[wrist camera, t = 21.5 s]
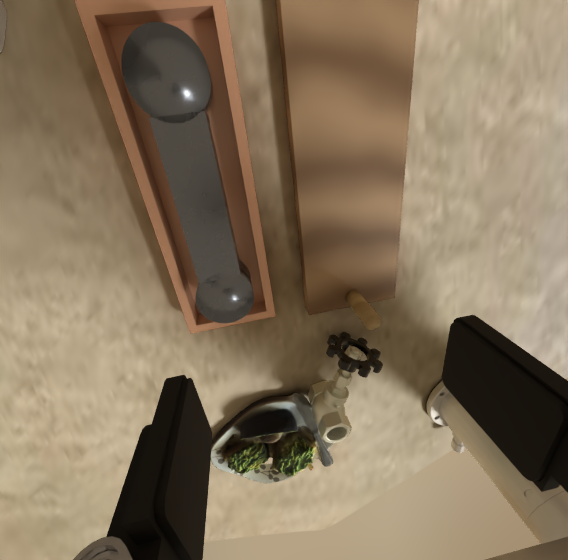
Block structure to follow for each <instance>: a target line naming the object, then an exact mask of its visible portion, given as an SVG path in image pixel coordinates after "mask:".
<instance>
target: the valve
mask: <svg viewBox="0 0 568 560" xmlns="http://www.w3.org/2000/svg"><path fill="white" fill-rule="evenodd" d="M350 337H351V336H350V334H348V333H346V332H343V333H342V334H341V337H340V339H339V338H338V337H337V336H336V335H330V336H329V339H328V341H327V343H328V345H329V346H328V349H327V351H326V354H327V355H328V356H329V357H332V358H333V356H334V354H337V356H338V357H339V358H340V360H339V362H338V366H339V368H340V369H338V370H337V371H336V373H335V376H334V380H335V381H334V380H331V381H328V382H327V381H326V380H324V381H321V382H318V383H315V384H312V385H311V388H310V390H309V393H308V397H309V400H310V404H311V405H312V415H313V418H314V420H315V421H316V423H317V424H318V429H319V432H320V435H321V438H322V439H323V440H325V441H326V442H328V443H337V442H340V441H342V440H344V439H346V438H347V437H348V435H349V434H350V431H351V428H352V427H351V425H350V422H349V420H348V418H347V416H346V415H345V408H344V403H345V402H346V400H347V398H348V396H349V391H348V389H347V388H346V386H347V385H349V383H350V381H351V378H352V375H351V373H350V372H355V371H356V369H359V372H358V374H359V375H360V376H362V377H367V376H368V374H369V372H370V370H371V368H370V366H372V367H373V368H374V370H373V372H375V373H379V372H380V370H381V368H382V366H383V364H382V362H380V361H379V360H378V358H379V356H380V354H381V353H380V351H378V350H377V349H369V348H368V347H367V346H366V344H367V341H366V340H365V339H364V338H359V339H358V341H357V340H353V339H351V338H350ZM332 343H333V344H335V345H331V344H332ZM342 345H343V347H342V349H341V346H342ZM349 345H351V347H349ZM352 346H354V347H352ZM357 348H358V349H357ZM359 349H360V350H361V351H362V352H363V353H364V354H365V355H366V357H367V360H365V361H360V358H361V356H362V353H361V352H360V350H359Z"/></svg>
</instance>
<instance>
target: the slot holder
mask: <svg viewBox="0 0 568 560" xmlns="http://www.w3.org/2000/svg"><path fill="white" fill-rule="evenodd" d="M74 1H75V4H76V7H77V10H78V13H79V16H80V18H81V21H82V24H83V27H84V30H85V33H86V36H87V39H88V41H89V44H90V47H91V50H92V53H93V56H94V59H95V62H96V64H97V67H98V70H99V73H100V76H101V79H102V82H103V84H104V87H105V90H106V93H107V96H108V99H109V102H110V105H111V107H112V110H113V113H114V116H115V119H116V122H117V125H118V128H119V130H120V133H121V136H122V139H123V142H124V145H125V148H126V151H127V153H128V156H129V159H130V162H131V165H132V168H133V171H134V173H135V176H136V179H137V182H138V185H139V188H140V191H141V194H142V196H143V199H144V202H145V205H146V208H147V211H148V214H149V217H150V219H151V222H152V225H153V228H154V231H155V234H156V237H157V240H158V242H159V245H160V248H161V251H162V254H163V257H164V260H165V262H166V265H167V268H168V271H169V274H170V277H171V280H172V283H173V285H174V288H175V291H176V294H177V297H178V300H179V303H180V306H181V308H182V311H183V314H184V317H185V320H186V323H187V326H188V329H189V331H190V334H191V333H196V332H201V331H206V330H211V329H216V328H221V327H226V326H231V325H236V324H241V323H245V322H250V321H255V320H260V319H265V318H270V317H275V309H274V303H273V297H272V291H271V284H270V278H269V272H268V266H267V260H266V253H265V247H264V241H263V235H262V228H261V222H260V216H259V210H258V203H257V197H256V191H255V185H254V178H253V172H252V166H251V160H250V153H249V147H248V141H247V135H246V128H245V122H244V116H243V110H242V103H241V97H240V91H239V85H238V79H237V72H236V66H235V60H234V54H233V47H232V41H231V35H230V29H229V22H228V16H227V10H226V4H225V0H74ZM150 22H164V23H168V24H171V25H173V26H176V27H178V28H179V29H181V30H182V31H184V32H185V33H186V34H187V35H189V36H190V37H191V38H192V39H193V40H194V42H195V43H196V44H197V46H198V47H199V49H200V50H201V52H202V54H203V56H204V58H205V60H206V63H207V66H208V70H209V73H210V77H211V81H212V86H213V98H212V103H211V106H210V109H209V111H208V112H207V114H208V115H209V120H210V125H211V129H212V134H213V139H214V143H215V148H216V153H217V157H218V162H219V167H220V171H221V176H222V181H223V185H224V190H225V195H226V199H227V204H228V209H229V213H230V218H231V223H232V227H233V232H234V237H235V241H236V246H237V251H238V255H239V260H241V261H242V262H243V263H244V264H245V265H246V266H247V268H248V269H249V272H250V276H251V282H252V287H253V293H254V303H253V306H252V308H251V310H250V311H249V313H248V314H247V315H246V316H245V317H243V318H242V319H240V320H238V321H235V322H232V323H217V322H213V321H211V320H209V319H207V318H206V317H204V316H203V315H202V314H201V313H200V311H199V310H198V308H197V306H196V301H195V297H196V291H197V286H198V278H197V275H196V272H195V268H194V265H193V262H192V259H191V255H190V252H189V249H188V245H187V242H186V239H185V235H184V232H183V229H182V225H181V222H180V219H179V216H178V212H177V209H176V206H175V202H174V199H173V196H172V192H171V189H170V186H169V183H168V179H167V176H166V173H165V169H164V166H163V163H162V159H161V156H160V153H159V149H158V146H157V143H156V140H155V136H154V133H153V130H152V126H151V123H150V120H149V118H152V116H150V115H149V114H147V113H146V112H145V111H144V110H142V109H141V108H140V107H139V106H138V104H137V103H136V102H135V101H134V99H133V98H132V96H131V95H130V93H129V91H128V89H127V87H126V84H125V81H124V78H123V74H122V66H121V58H122V51H123V47H124V45H125V42H126V40H127V38H128V37H129V35H130V34H131V33H132V32H133V31H134V30H135V29H136V28H138V27H139V26H141V25H143V24H146V23H150Z"/></svg>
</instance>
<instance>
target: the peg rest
mask: <svg viewBox="0 0 568 560" xmlns="http://www.w3.org/2000/svg"><path fill="white" fill-rule="evenodd" d="M418 4H419V0H276V7H277V17H278V27H279V38H280V48H281V58H282V69H283V79H284V89H285V100H286V110H287V120H288V131H289V141H290V151H291V162H292V172H293V182H294V193H295V203H296V213H297V224H298V234H299V244H300V255H301V265H302V275H303V286H304V296H305V306H306V310H307V312H308V314H309V315H312V314H317V313H322V312H327V311H332V310H336V309H341V308H346V307H352V309H353V310H354V312H355V313H356V314H357V316H358V317H359V318H360V320H361V321H362V322H363V324H364V325H365V327H366V328H367V329H369V330H374V329H376V328H378V327H379V326H380V325H381V322H382V320H381V318H380V316H379V315H378V314H377V313H376V312H375V311H374V309H373V308H372V307H371V306H370V305H369V304H368V303H370V302H375V301H380V300H385V299H390V298H395V286H396V274H397V261H398V249H399V237H400V224H401V212H402V200H403V188H404V175H405V163H406V151H407V139H408V126H409V114H410V102H411V89H412V77H413V65H414V53H415V40H416V28H417V16H418Z"/></svg>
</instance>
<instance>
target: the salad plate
mask: <svg viewBox="0 0 568 560" xmlns="http://www.w3.org/2000/svg"><path fill="white" fill-rule="evenodd" d="M299 426H301V427H299ZM234 435H235V437H234ZM332 445H333V443H328V442H326V441H325V440H323V439H322V438H321V435H320V432H319V429H318V424H317V423H316V421H315V420H314V418H313V415H312V408H311V405H310V404H309V402H308V400H307V399H306V397H305V396H304V395H303V394H299V393H294V394H293V395H291V396H274V397H268V398H264V399H261V400H259V401H257V402H255V403H253V404H251V405H250V406H248V407H247V408H246V409H244V410H243V411H241V412H240V413H239V414H238V415H237V416H235V417H234V418H233V419H232V420H231V421H230V422H228V423H227V424H226V425H225V426H224V427H223V428H222V429H221V430H220V431H219V433H218V434H217V435H216V437H215V438H214V439H213V441H212V448H211V461H212V463H213V465H214V466H215V467H216V468H218V469H220V470H223V471H226V472H229V473H233V474H236V475H239V476H243V477H246V478H248V479H251V480H254V481H257V482H260V483H276V482H280V481H284V480H287V479H289V478H291V477H293V476H295V475H296V474H297V473H298V472H302V471H303V470H304V469H305V468H307V467H308V468H309V469H310V470H312V469H313V466H312V465H311V463H313V460H314V459H319V460H320V461H321V462H322V464H323V465H324V466H330V465H331V464H333V458H332V456H331V454H330V452H329V448H330V447H331V446H332ZM269 457H272V458H273V463H272V464H261V463H265V462H266V461H267V460H268V458H269Z"/></svg>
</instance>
